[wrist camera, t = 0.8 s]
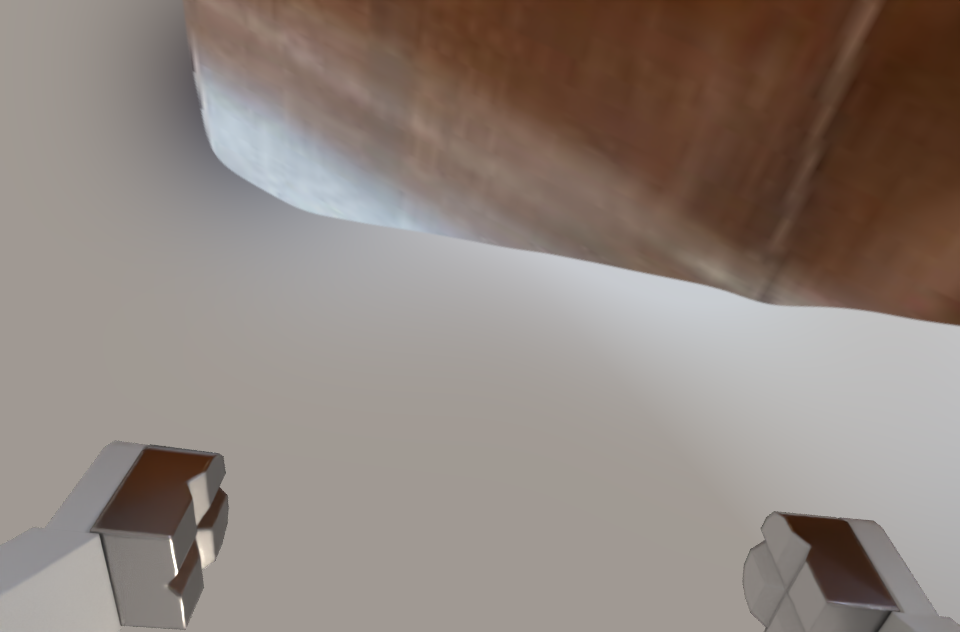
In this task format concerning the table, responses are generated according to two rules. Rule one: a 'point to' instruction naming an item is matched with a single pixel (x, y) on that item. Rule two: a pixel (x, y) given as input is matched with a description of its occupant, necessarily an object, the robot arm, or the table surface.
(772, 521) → the robot arm
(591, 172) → the table surface
